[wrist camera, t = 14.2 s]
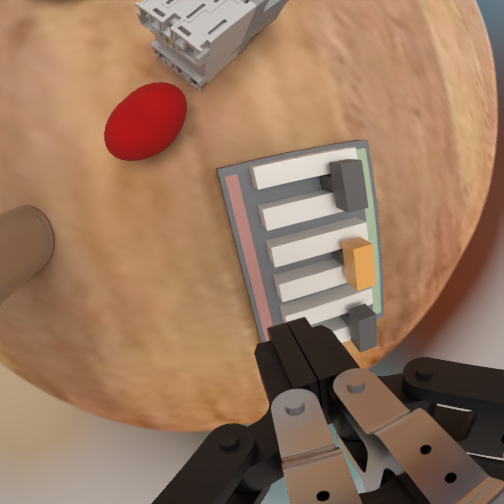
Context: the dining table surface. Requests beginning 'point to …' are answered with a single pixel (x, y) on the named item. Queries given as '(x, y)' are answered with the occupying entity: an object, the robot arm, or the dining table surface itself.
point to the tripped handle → (357, 262)
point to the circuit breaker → (204, 32)
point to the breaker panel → (306, 237)
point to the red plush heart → (145, 121)
